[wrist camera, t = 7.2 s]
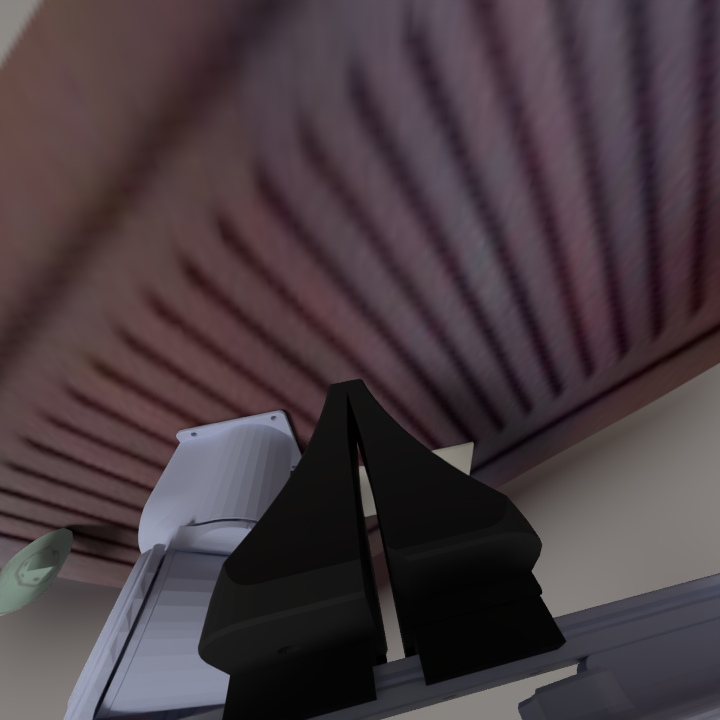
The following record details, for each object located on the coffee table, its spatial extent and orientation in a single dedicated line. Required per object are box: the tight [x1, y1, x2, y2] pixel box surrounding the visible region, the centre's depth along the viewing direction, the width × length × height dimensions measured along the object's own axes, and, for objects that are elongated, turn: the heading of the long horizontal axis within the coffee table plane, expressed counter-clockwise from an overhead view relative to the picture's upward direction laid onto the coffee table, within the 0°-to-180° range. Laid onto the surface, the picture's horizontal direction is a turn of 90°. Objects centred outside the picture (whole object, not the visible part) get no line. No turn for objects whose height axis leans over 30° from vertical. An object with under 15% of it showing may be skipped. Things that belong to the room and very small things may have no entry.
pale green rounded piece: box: [0, 528, 73, 616], centre depth 24 cm, size 8×4×7 cm, turn 138°
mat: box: [359, 442, 474, 517], centre depth 32 cm, size 18×10×1 cm, turn 98°
